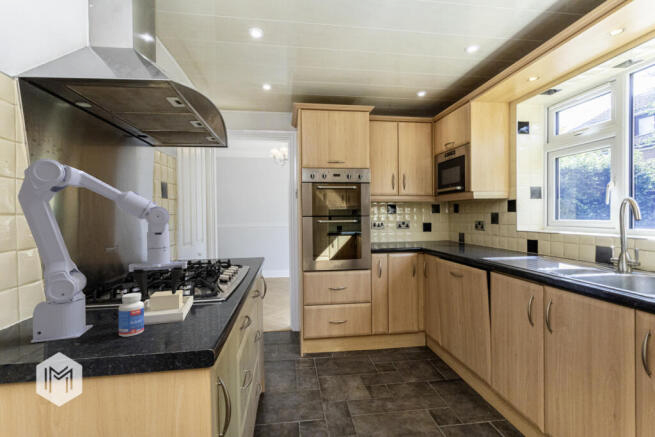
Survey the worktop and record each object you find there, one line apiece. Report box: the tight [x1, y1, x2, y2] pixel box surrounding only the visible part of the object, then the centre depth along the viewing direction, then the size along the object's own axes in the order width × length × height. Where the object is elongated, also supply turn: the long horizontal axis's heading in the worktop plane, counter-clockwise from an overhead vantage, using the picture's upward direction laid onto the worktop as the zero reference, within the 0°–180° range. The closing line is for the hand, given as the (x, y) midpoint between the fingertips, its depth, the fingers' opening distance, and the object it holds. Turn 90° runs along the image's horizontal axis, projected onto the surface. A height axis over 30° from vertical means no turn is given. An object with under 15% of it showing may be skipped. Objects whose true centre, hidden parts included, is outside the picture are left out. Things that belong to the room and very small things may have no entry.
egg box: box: [149, 289, 184, 311], centre depth 93 cm, size 8×6×4 cm
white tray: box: [142, 295, 194, 326], centre depth 89 cm, size 14×18×2 cm
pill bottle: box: [118, 292, 145, 338], centre depth 74 cm, size 6×5×10 cm
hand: (159, 294), depth 84 cm, fingers open, 7 cm apart
